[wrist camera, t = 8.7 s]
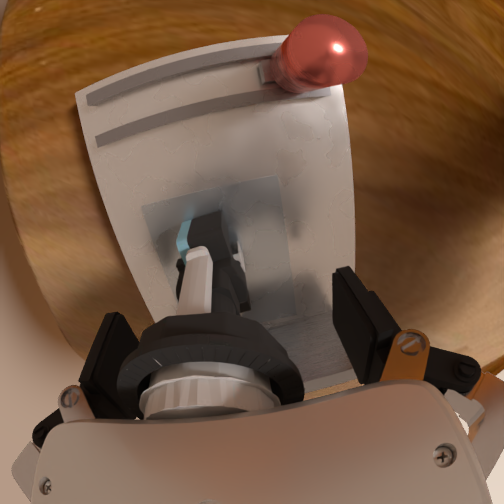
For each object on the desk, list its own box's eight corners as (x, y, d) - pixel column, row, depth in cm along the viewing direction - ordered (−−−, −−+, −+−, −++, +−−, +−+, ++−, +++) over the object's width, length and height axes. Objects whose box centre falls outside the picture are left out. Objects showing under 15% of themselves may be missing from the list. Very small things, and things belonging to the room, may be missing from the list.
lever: (317, 46, 10) (367, 17, 5) (326, 92, 11) (381, 84, 7) (255, 51, 10) (274, 15, 5) (264, 98, 11) (289, 87, 7)
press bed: (321, 40, 11) (382, 4, 5) (345, 308, 20) (380, 373, 14) (87, 93, 11) (14, 92, 5) (176, 342, 20) (167, 415, 14)
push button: (278, 297, 16) (322, 455, 8) (195, 319, 17) (187, 475, 8) (247, 193, 13) (296, 355, 5) (148, 225, 14) (68, 391, 5)
